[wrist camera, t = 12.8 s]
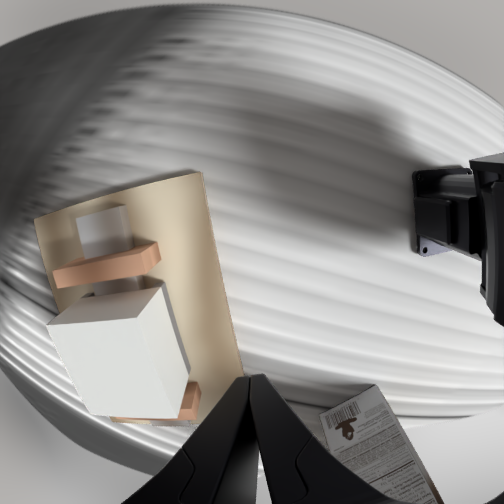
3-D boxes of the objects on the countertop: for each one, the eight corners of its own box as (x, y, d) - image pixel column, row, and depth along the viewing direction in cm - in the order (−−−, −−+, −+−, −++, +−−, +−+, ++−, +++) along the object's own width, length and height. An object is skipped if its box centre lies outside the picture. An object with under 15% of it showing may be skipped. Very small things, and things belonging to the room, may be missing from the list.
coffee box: (395, 427, 24) (450, 534, 8) (344, 454, 25) (380, 567, 9) (376, 381, 22) (455, 520, 7) (314, 414, 23) (355, 566, 7)
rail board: (202, 172, 18) (189, 169, 14) (253, 411, 22) (254, 446, 18) (40, 217, 18) (7, 225, 14) (115, 415, 23) (102, 443, 19)
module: (165, 281, 18) (136, 317, 13) (190, 368, 20) (177, 418, 15) (86, 293, 18) (45, 325, 13) (116, 371, 20) (90, 414, 15)
